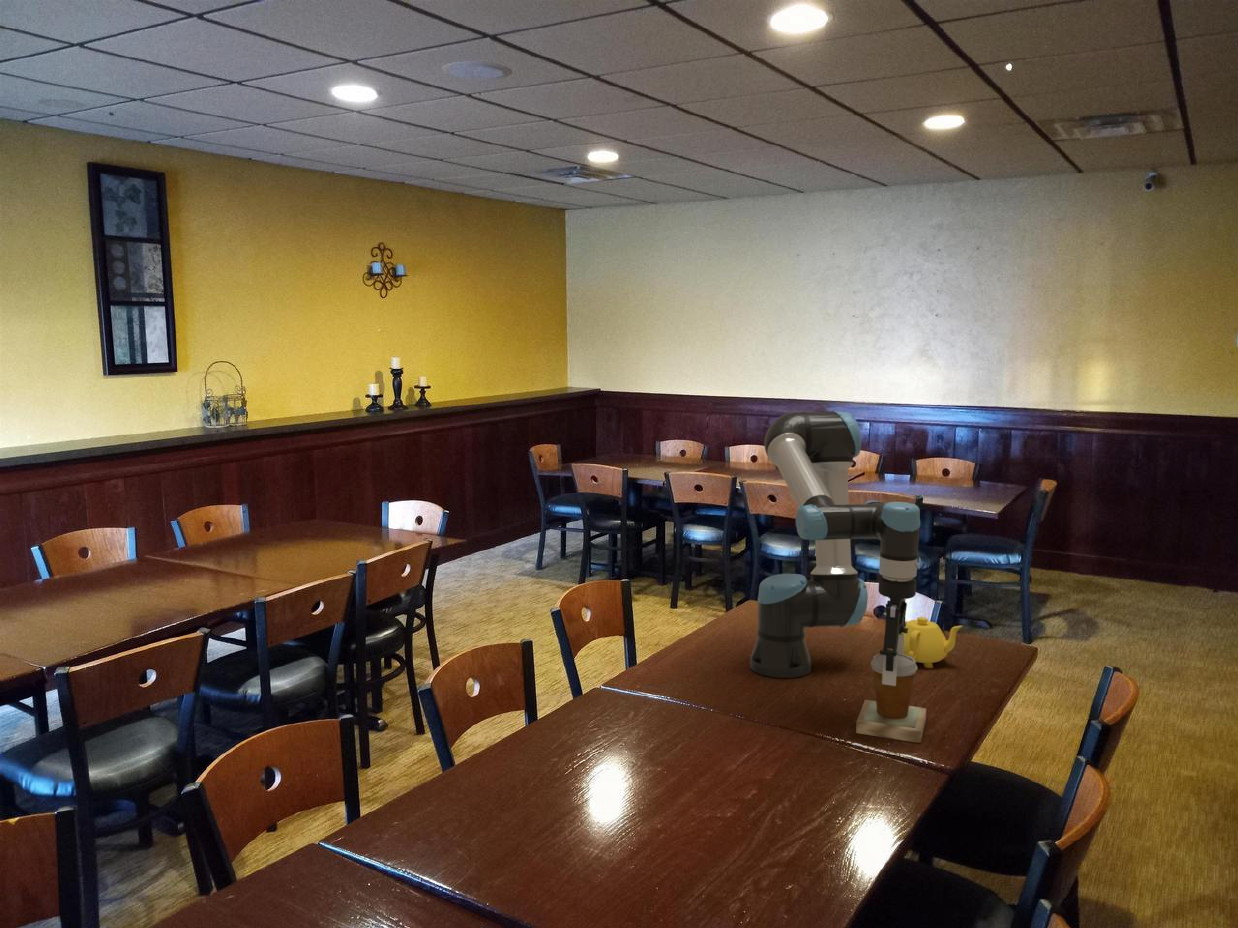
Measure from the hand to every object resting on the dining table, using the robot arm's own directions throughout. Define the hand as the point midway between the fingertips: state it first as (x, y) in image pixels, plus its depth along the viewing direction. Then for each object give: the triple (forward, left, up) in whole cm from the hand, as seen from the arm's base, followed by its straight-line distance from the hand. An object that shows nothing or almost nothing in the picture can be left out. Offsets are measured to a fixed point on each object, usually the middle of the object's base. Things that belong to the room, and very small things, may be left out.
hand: (892, 673), depth 199 cm
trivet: (0, 0, -12) cm, 12 cm away
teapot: (+2, +44, -12) cm, 45 cm away
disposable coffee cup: (0, 0, -9) cm, 9 cm away
